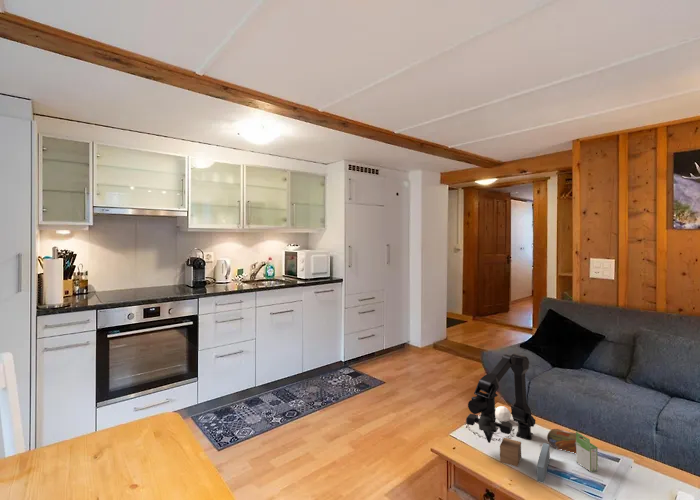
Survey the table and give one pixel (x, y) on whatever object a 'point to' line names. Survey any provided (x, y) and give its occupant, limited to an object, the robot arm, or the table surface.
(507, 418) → the geometric ball
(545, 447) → the slate board
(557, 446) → the tin
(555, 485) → the table surface
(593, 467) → the ink box
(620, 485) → the table surface
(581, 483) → the table surface
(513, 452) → the walnut block
